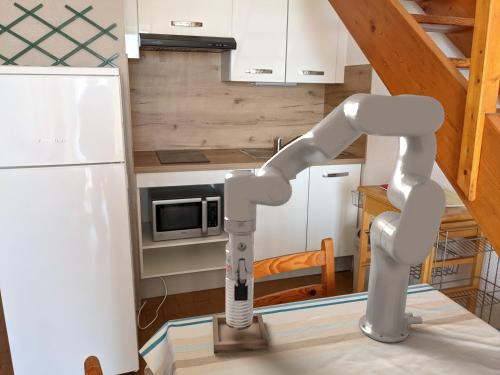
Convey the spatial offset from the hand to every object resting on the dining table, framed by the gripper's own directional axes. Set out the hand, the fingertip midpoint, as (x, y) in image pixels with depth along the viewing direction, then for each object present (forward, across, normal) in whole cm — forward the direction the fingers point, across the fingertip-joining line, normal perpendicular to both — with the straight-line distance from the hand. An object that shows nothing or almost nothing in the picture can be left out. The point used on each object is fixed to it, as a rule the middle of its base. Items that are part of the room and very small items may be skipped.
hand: (239, 292), depth 106 cm
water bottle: (+9, 0, 0) cm, 9 cm away
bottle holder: (+12, 0, 0) cm, 12 cm away
